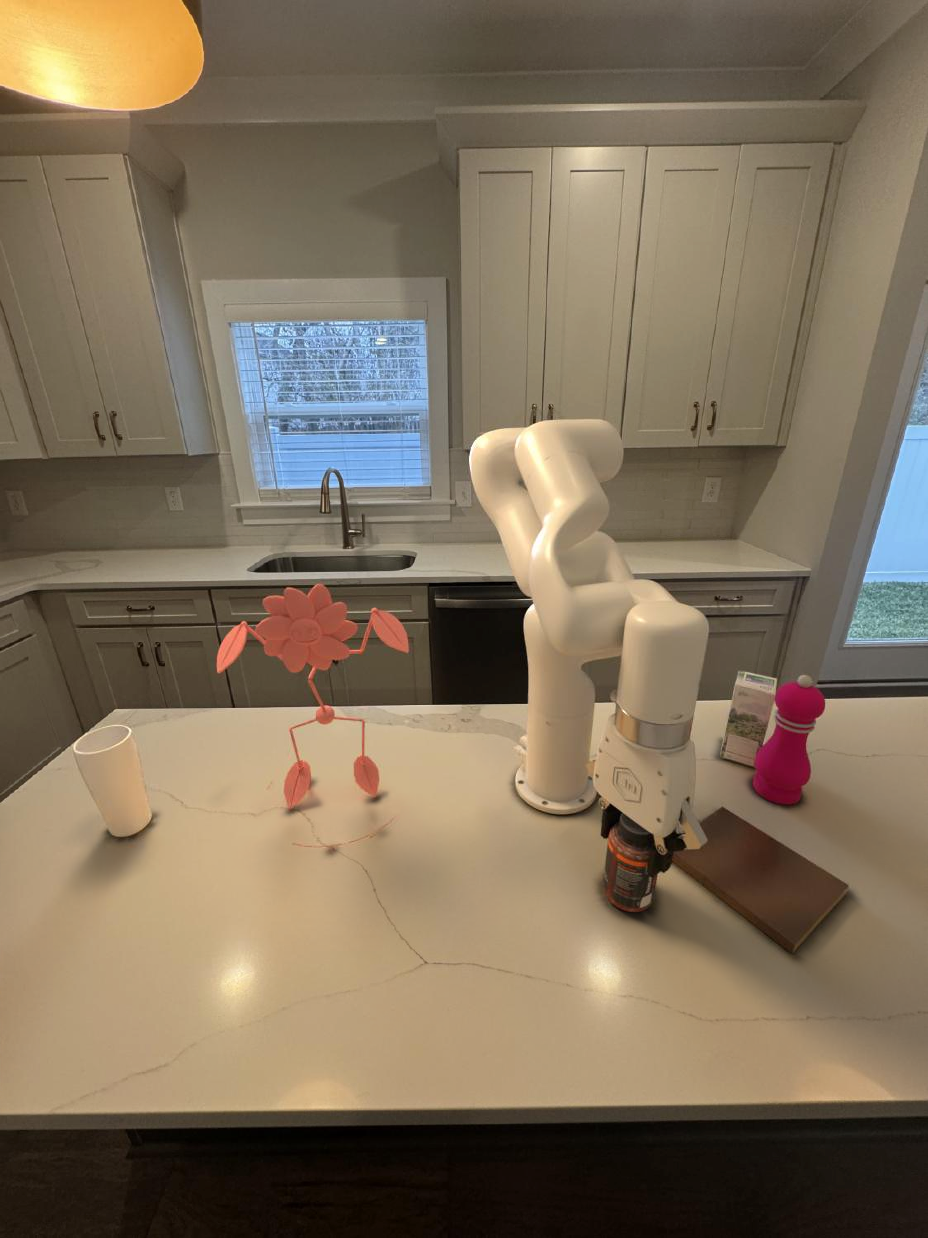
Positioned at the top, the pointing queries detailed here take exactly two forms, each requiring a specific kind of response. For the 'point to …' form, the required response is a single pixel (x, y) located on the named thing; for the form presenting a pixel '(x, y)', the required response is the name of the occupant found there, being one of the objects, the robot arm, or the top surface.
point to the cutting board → (762, 878)
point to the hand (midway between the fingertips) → (633, 849)
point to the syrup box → (748, 717)
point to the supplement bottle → (629, 866)
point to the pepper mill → (789, 743)
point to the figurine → (313, 662)
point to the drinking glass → (114, 778)
